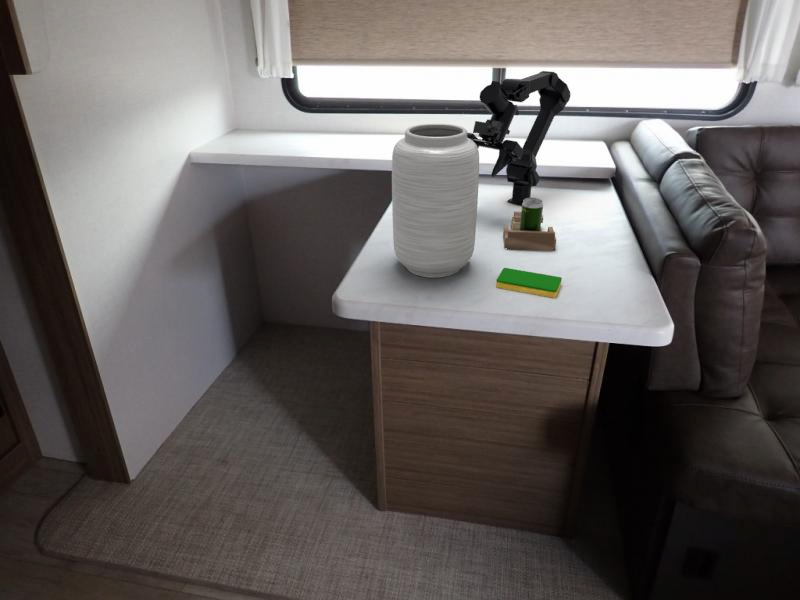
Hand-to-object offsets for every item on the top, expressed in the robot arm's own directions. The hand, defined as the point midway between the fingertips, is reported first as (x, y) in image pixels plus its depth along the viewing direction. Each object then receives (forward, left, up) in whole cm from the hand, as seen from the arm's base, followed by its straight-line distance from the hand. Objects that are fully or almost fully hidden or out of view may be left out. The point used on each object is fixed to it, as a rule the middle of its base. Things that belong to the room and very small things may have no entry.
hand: (478, 173), depth 161 cm
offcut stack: (-5, +14, -15) cm, 21 cm away
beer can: (+3, +19, -15) cm, 25 cm away
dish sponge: (+25, +31, -16) cm, 43 cm away
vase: (+30, +7, -15) cm, 34 cm away
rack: (+3, +19, -15) cm, 24 cm away
